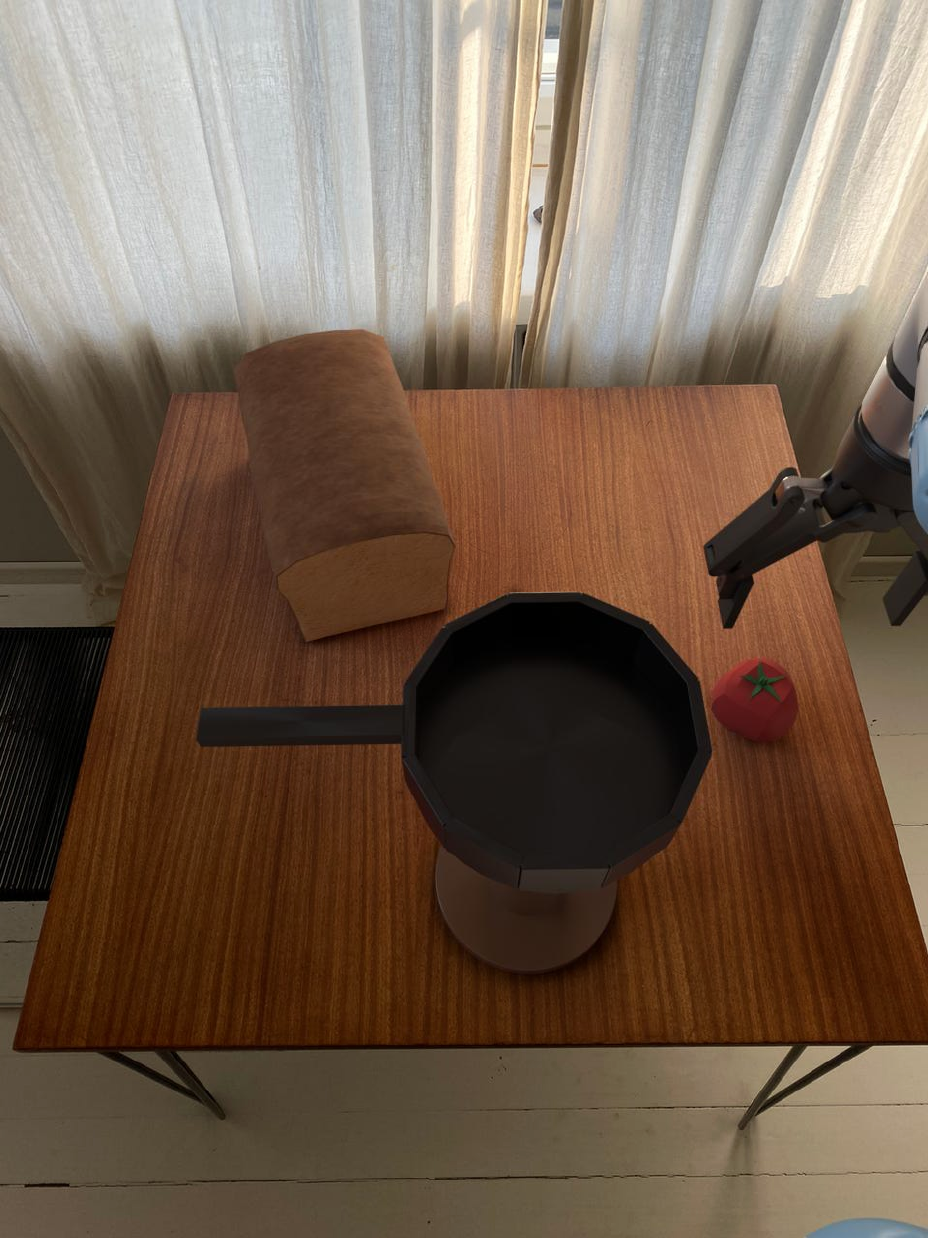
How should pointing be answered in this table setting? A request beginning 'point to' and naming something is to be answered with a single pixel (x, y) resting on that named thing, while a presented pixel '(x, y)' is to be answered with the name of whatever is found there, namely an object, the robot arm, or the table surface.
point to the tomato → (756, 700)
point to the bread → (342, 483)
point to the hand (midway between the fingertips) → (807, 613)
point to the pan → (527, 764)
